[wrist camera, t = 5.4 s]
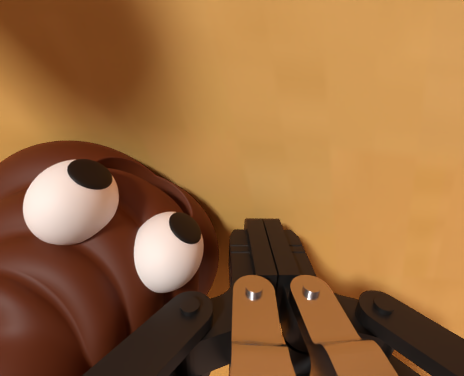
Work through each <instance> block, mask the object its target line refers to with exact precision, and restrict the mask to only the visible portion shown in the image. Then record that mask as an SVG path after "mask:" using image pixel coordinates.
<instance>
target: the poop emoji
mask: <svg viewBox="0 0 464 376" xmlns="http://www.w3.org/2000/svg"><path fill="white" fill-rule="evenodd" d="M218 260H219V249H218V241H217V237H216V233H215V230H214V227H213V225H212V223H211V221H210V219H209V217H208V215H207V214H206V212H205V211H204V210H203V208H202V207H201V206H200V204H199V203H198V202H197V201H196V200H195V199H194V198H193V197H192V196H191V195H189V194H188V193H187V192H186V191H184V190H183V189H182V188H180V187H179V186H177V185H176V184H174V183H172V182H170V181H168V180H166V179H164V178H162V177H160V176H157V175H155V174H154V173H153V172H152V171H151V170H149V169H148V168H147V167H145V166H144V165H143V164H141V163H140V162H138V161H137V160H135V159H133V158H131V157H130V156H128V155H126V154H124V153H121V152H119V151H117V150H114V149H112V148H109V147H106V146H102V145H99V144H94V143H89V142H82V141H54V142H47V143H42V144H38V145H34V146H31V147H28V148H25V149H23V150H21V151H19V152H16V153H15V154H13V155H11V156H9V157H8V158H6V159H5V160H3V161H2V162H0V376H82V375H83V374H85V373H86V372H87V371H88V370H89V369H91V368H92V367H93V366H94V365H95V364H96V363H98V362H99V361H100V360H101V359H102V358H103V357H105V356H106V355H107V354H108V353H109V352H110V351H112V350H113V349H114V348H115V347H116V346H118V345H119V344H120V343H121V342H122V341H123V340H125V339H126V338H127V337H128V336H129V335H130V334H132V333H133V332H134V331H135V330H136V329H137V328H139V327H140V326H141V325H142V324H143V323H145V322H146V321H147V320H148V319H149V318H150V317H152V316H153V315H154V314H155V313H156V312H157V311H159V310H160V309H161V308H162V307H163V306H164V305H166V304H167V303H168V302H169V301H170V300H172V299H173V298H174V297H175V296H177V295H178V294H180V293H183V292H187V291H197V292H201V293H203V294H205V295H207V293H208V292H209V290H210V288H211V286H212V284H213V281H214V279H215V276H216V272H217V268H218Z"/></svg>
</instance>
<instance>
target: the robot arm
mask: <svg viewBox="0 0 464 376" xmlns="http://www.w3.org/2000/svg"><path fill="white" fill-rule="evenodd" d="M229 280H230V288H229V290H228V291H227V292H225V293H224V294H222V295H220V296H217V297H214V298H211V299H209V297H208V296H206V295H205V294H203V293H201V292H197V291H187V292H183V293H180V294H178V295H177V296H175V297H174V298H173V299H172V300H170V301H169V302H168V303H167V304H166V305H164V306H163V307H162V308H161V309H160V310H159V311H157V312H156V313H155V314H154V315H153V316H152V317H150V318H149V319H148V320H147V321H146V322H145V323H143V324H142V325H141V326H140V327H139V328H137V329H136V330H135V331H134V332H133V333H132V334H130V335H129V336H128V337H127V338H126V339H125V340H123V341H122V342H121V343H120V344H119V345H118V346H116V347H115V348H114V349H113V350H112V351H110V352H109V353H108V354H107V355H106V356H105V357H103V358H102V359H101V360H100V361H99V362H98V363H96V364H95V365H94V366H93V367H92V368H91V369H89V370H88V371H87V372H86V373H85V374H83V375H82V376H209V375H210V372H211V371H213V370H215V369H218V368H220V367H223V366H225V365H228V364H229V376H420V375H419V374H418V373H416V372H415V371H414V370H412V369H411V368H409V367H408V366H407V365H405V364H404V363H403V362H401V361H400V360H398V359H397V358H396V357H394V356H393V355H392V353H393V351H394V349H395V350H396V351H398V352H399V353H400V354H402V355H403V356H405V357H406V358H408V359H409V360H410V361H412V362H413V363H415V364H416V365H417V366H419V367H420V368H422V369H423V370H424V371H426V372H427V373H429V374H430V375H432V376H464V339H463V338H461V337H459V336H458V335H456V334H454V333H453V332H451V331H449V330H448V329H446V328H444V327H442V326H441V325H439V324H437V323H436V322H434V321H432V320H431V319H429V318H427V317H425V316H424V315H422V314H420V313H419V312H417V311H415V310H414V309H412V308H410V307H408V306H407V305H405V304H403V303H402V302H400V301H398V300H397V299H395V298H393V297H391V296H390V295H388V294H385V293H383V292H379V291H365V292H363V293H362V294H361V295H360V297H359V300H357V299H353V298H349V297H345V296H341V295H338V294H336V293H333V291H332V290H331V288H330V287H329V285H328V284H327V283H326V282H324V281H323V280H322V279H320V278H318V277H317V276H316V274H315V272H314V270H313V268H312V265H311V263H310V261H309V259H308V257H307V254H306V253H305V250H304V248H303V247H302V243H301V241H300V239H299V237H298V236H297V235H296V234H295V233H294V232H293V231H291V230H283V228H282V225H281V222H280V220H279V219H245V224H244V230H234V231H233V232H232V234H231V235H230V244H229ZM280 323H281V328H282V335H281V329H280Z"/></svg>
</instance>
